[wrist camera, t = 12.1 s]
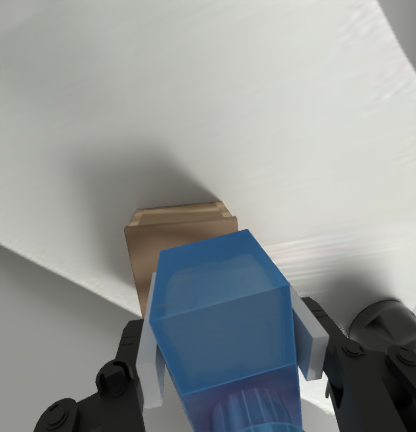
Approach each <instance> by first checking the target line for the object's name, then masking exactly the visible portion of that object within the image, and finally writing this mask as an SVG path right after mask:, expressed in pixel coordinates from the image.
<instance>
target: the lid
mask: <svg viewBox="0 0 416 432" xmlns="http://www.w3.org/2000/svg"><path fill="white" fill-rule="evenodd" d="M124 232H125V237H126V241H127V246H128V251H129V256H130V260H131V265H132V270H133V275H134V280H135V284H136V289H137V294H138V299H139V303H140V308H141V313H142V318H143V319H144V318H145V312H146V307H147V302H148V296H149V291H150V285H151V280H152V275H153V272H157V266H158V259H159V253H160V251H162V250H166V249H170V248H174V247H178V246H182V245H186V244H190V243H194V242H198V241H202V240H206V239H210V238H214V237H218V236H222V235H226V234H230V233H234V232H238V225H237V218H236V216H233V217H223V218H212V219H201V220H190V221H179V222H168V223H158V224H147V225H136V226H126V227H125V229H124Z"/></svg>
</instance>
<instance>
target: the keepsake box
mask: <svg viewBox="0 0 416 432" xmlns="http://www.w3.org/2000/svg"><path fill="white" fill-rule="evenodd" d="M223 217H232V215H231V214H230V212H229V211H228V210H227V208H226V207H225V205H224V204H223V202H222V201H219V202H209V203H199V204H188V205H178V206H168V207H158V208H147V209H137V211H136V213H135V214H134V216H133V218H132V220H131V222H130V224H129V226H136V225H147V224H158V223H168V222H179V221H190V220H201V219H212V218H223Z"/></svg>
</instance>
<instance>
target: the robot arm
mask: <svg viewBox="0 0 416 432" xmlns="http://www.w3.org/2000/svg"><path fill="white" fill-rule="evenodd" d="M155 278H156V272H153V275H152V280H151V285H150V291H149V296H148V302H147V307H146V312H145V318H144V319H140V320H132V321H129V322H128V324H127V325H126V327H125V328H124V330H123V333H122V337H121V340H120V344H119V348H118V351H117V354H116V358H115V359H114V360H111V361H109V362H108V363H106V364H105V365H104V366H103V367H102V368H101V369H100V371H99V372H98V374H97V376H96V382H95V383H96V386H97V389H98V392H97V393H95V394H93V395H91V396H90V397H87V398H86V399H83V400H81V401H79V402H77V403H76V401H75V400H73V399H71V398H64V399H61V400H59V401H57V402H55V403H54V404H52V405H51V406H50V407H48V409H47V410H46V411H45V412H44V413H43V414H42V415H41V417H40V419H39V421H38V422H37V424H36V427H35V429H34V432H146V431H145V426H144V421H143V416H142V412H143V404H144V406H145V409H149V408H154V407H160V406H162V405H163V387H164V370H165V361H164V359H163V356H162V354H161V351H160V349H159V346H158V344H157V341H156V339H155V336H154V334H153V331H152V329H151V326H150V324H149V315H150V309H151V303H152V297H153V291H154V284H155ZM290 291H291V302H292V312H293V323H294V333H295V343H296V354H297V364H298V366H299V368H300V370H301V372H302V374H303V375H304V377H305V379H306V381H311V380H317V379H321V378H322V373H323V371H324V372H325V374H326V375H327V377H328V382H327V387H326V392H325V396H326V398H328V397H329V393H330V397H331V401H332V404H333V408H334V412H335V416H336V419H337V423H338V427H339V431H340V432H416V316H415V315H414V313H413V312H412V311H411V310H410V309H408V308H407V307H406V306H404V305H403V304H401V303H400V302H397V301H382V302H379V303H376V304H374V305H372V306H370V307H368V308H367V309H365V310H364V311H363V312H361V313H360V314H359V315H358V316H357V318H356V319H355V320H354V322H353V323H352V325H351V327H350V331H349V339H348V338H347V337H346V336H345V335H344V334H343V333H342V331H341V330H340V329H339V328H338V327H337V325H336V324H335V323H334V322H333V321H332V320H331V318H330V317H329V316H328V315H327V314H326V312H325V311H323V309H322V308H321V307H320V305H319V304H318V303H317V302H316V301H314V300H313V299H311V298H310V297H305V298H300V297H299V296H298V294H297V293H296V292H295V290H294V289H293V288H292V286H291V285H290Z"/></svg>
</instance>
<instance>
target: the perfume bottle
mask: <svg viewBox="0 0 416 432" xmlns="http://www.w3.org/2000/svg"><path fill="white" fill-rule="evenodd" d="M149 324H150V326H151V329H152V331H153V334H154V336H155V339H156V341H157V344H158V346H159V349H160V351H161V354H162V356H163V359H164V361H165V364H166V366H167V369H168V371H169V374H170V376H171V379H172V381H173V384H174V386H175V389H176V391H177V394H178V396H179V399H180V401H181V404H182V406H183V409H184V411H185V414H186V416H187V418H188V420H189V422H190V424H191V426H192V429H193V431H194V432H305V431H304V430H303V429H302V415H301V401H300V387H299V375H298V364H297V354H296V343H295V333H294V323H293V312H292V302H291V291H290V284H289V282H288V281H287V280H286V278H285V277H284V276H283V275H282V273H281V272H280V271H279V269H278V268H277V267H276V265H275V264H274V263H273V262H272V260H271V259H270V258H269V256H268V255H267V254H266V252H265V251H264V250H263V249H262V247H261V246H260V245H259V243H258V242H257V241H256V239H255V238H254V237H253V236H252V234H251V233H250V232H249V230H248V229H246V230H242V231H238V232H234V233H230V234H226V235H222V236H218V237H214V238H210V239H206V240H202V241H198V242H194V243H190V244H186V245H182V246H178V247H174V248H170V249H166V250H162V251H160V253H159V259H158V266H157V272H156V278H155V284H154V291H153V297H152V303H151V309H150V315H149Z"/></svg>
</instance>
